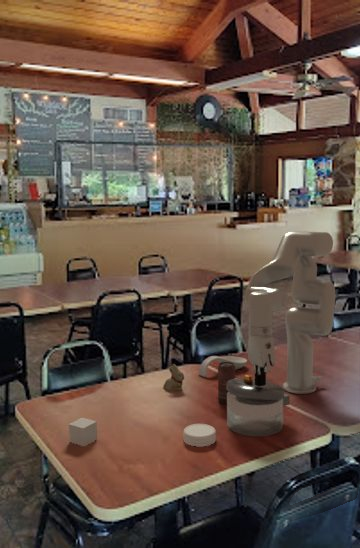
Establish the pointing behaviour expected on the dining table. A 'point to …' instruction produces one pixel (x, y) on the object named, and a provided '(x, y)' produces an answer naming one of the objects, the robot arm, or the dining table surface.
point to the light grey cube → (83, 431)
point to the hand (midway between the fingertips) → (260, 385)
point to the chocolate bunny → (174, 379)
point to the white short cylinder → (199, 435)
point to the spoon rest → (237, 362)
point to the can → (224, 379)
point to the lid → (255, 389)
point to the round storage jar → (255, 415)
